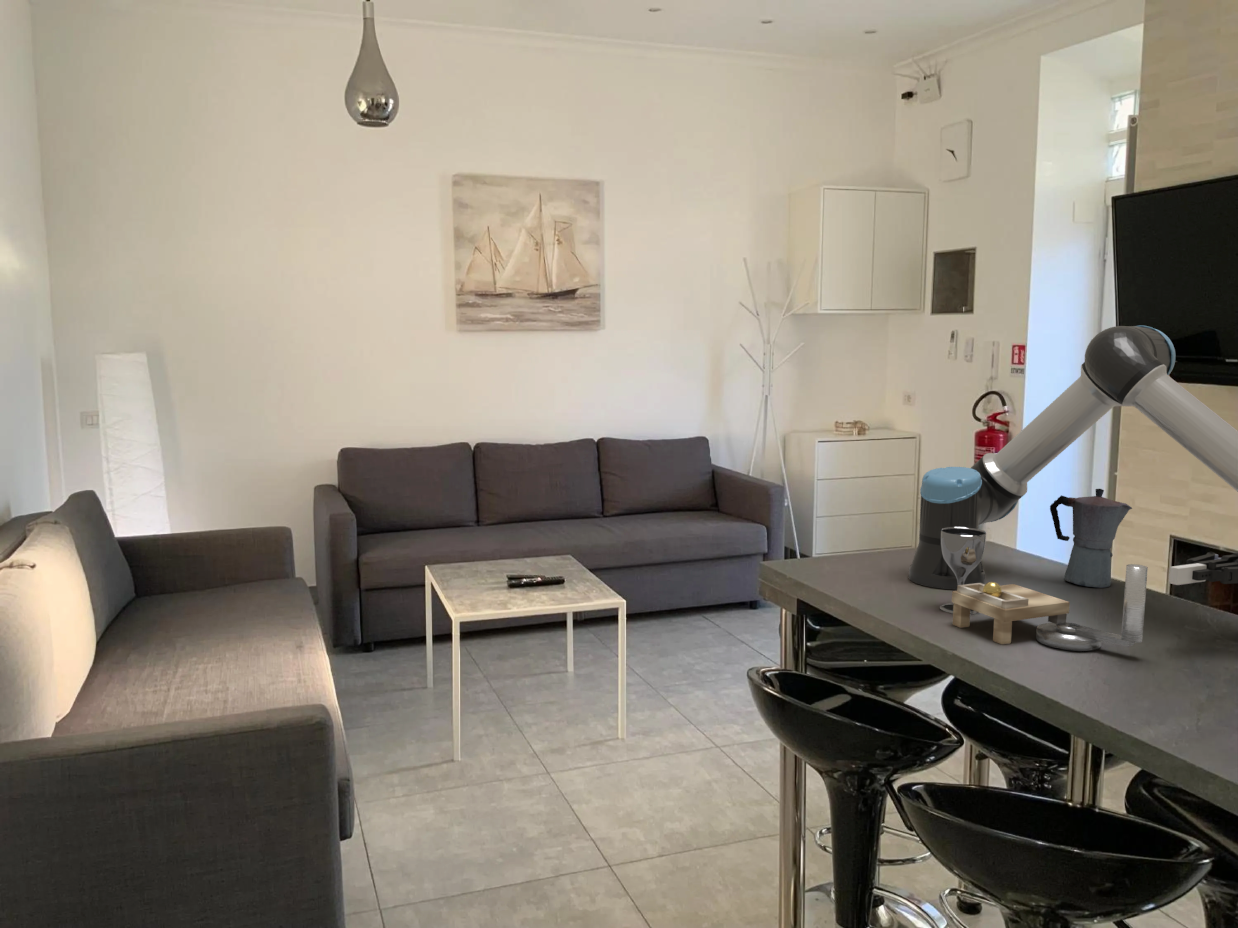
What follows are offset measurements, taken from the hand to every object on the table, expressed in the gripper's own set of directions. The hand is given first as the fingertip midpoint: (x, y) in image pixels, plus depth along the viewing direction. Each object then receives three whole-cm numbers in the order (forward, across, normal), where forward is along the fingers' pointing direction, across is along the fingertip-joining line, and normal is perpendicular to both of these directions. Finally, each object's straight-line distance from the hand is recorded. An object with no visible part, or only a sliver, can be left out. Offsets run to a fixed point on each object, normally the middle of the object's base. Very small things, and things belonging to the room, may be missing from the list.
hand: (1173, 575), depth 160 cm
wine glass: (+14, +33, -13) cm, 38 cm away
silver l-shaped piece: (+10, +7, -12) cm, 17 cm away
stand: (+15, +20, -12) cm, 28 cm away
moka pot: (-24, +39, -13) cm, 47 cm away
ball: (+19, +19, -5) cm, 28 cm away
